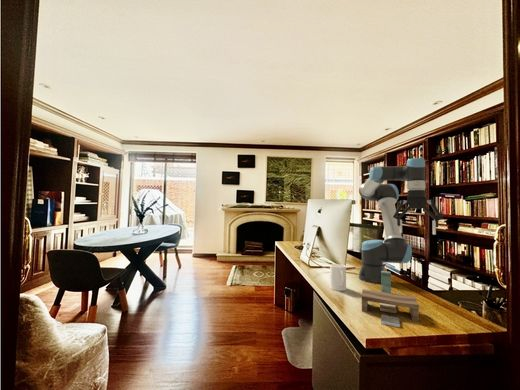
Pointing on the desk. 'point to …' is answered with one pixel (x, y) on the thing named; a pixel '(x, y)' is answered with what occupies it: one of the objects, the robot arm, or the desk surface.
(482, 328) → the desk surface
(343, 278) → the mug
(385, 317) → the tile
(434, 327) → the desk surface
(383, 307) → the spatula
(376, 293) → the riser
